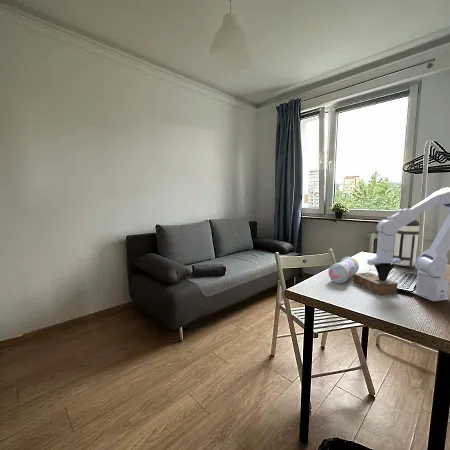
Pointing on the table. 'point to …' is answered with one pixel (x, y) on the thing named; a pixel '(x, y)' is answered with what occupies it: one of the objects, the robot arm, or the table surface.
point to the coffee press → (407, 244)
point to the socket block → (375, 284)
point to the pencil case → (343, 270)
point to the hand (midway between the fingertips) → (382, 280)
